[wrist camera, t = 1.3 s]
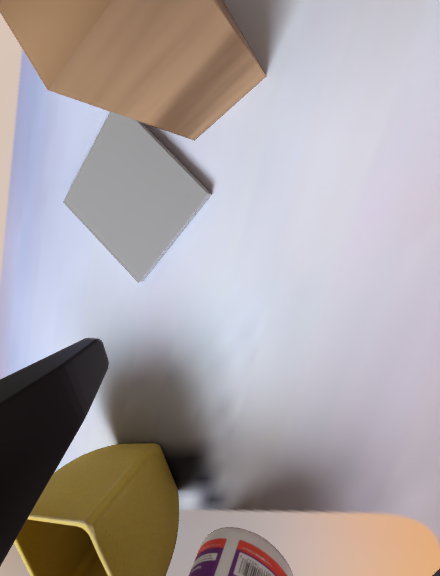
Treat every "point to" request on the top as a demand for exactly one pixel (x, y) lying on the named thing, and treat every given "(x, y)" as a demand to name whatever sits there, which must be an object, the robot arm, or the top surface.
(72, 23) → the walnut block
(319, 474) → the top surface
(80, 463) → the flower pot
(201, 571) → the pill bottle
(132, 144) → the slate tile
